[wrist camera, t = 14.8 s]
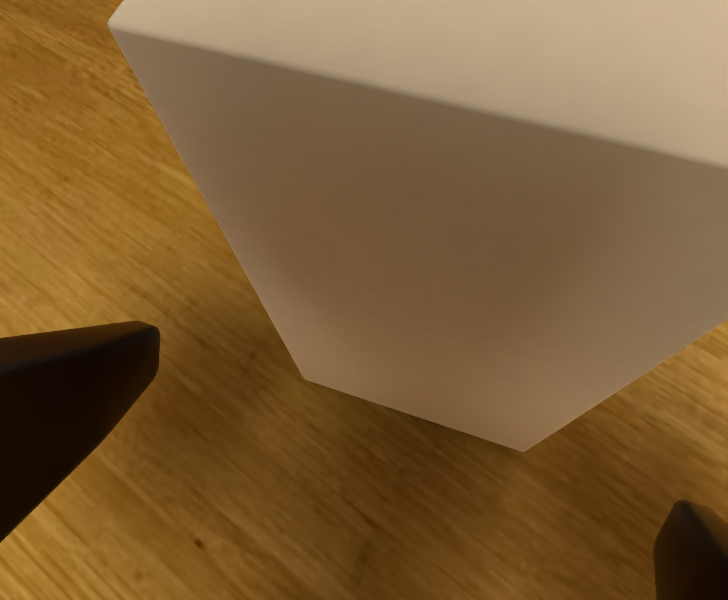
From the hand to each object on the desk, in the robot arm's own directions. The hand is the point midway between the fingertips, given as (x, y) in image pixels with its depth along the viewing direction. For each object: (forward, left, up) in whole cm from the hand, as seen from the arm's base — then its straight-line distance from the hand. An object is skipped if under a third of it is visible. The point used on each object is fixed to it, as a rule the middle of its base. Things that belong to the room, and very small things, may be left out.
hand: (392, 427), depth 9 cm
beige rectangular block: (+3, +1, -7) cm, 8 cm away
